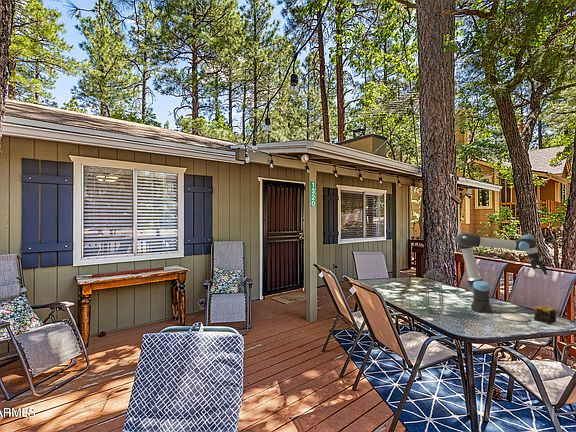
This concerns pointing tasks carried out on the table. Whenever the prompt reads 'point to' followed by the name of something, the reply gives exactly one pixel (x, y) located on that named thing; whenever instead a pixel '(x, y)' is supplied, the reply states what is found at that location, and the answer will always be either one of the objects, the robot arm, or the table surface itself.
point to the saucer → (515, 317)
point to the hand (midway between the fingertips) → (542, 277)
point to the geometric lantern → (434, 286)
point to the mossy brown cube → (545, 314)
